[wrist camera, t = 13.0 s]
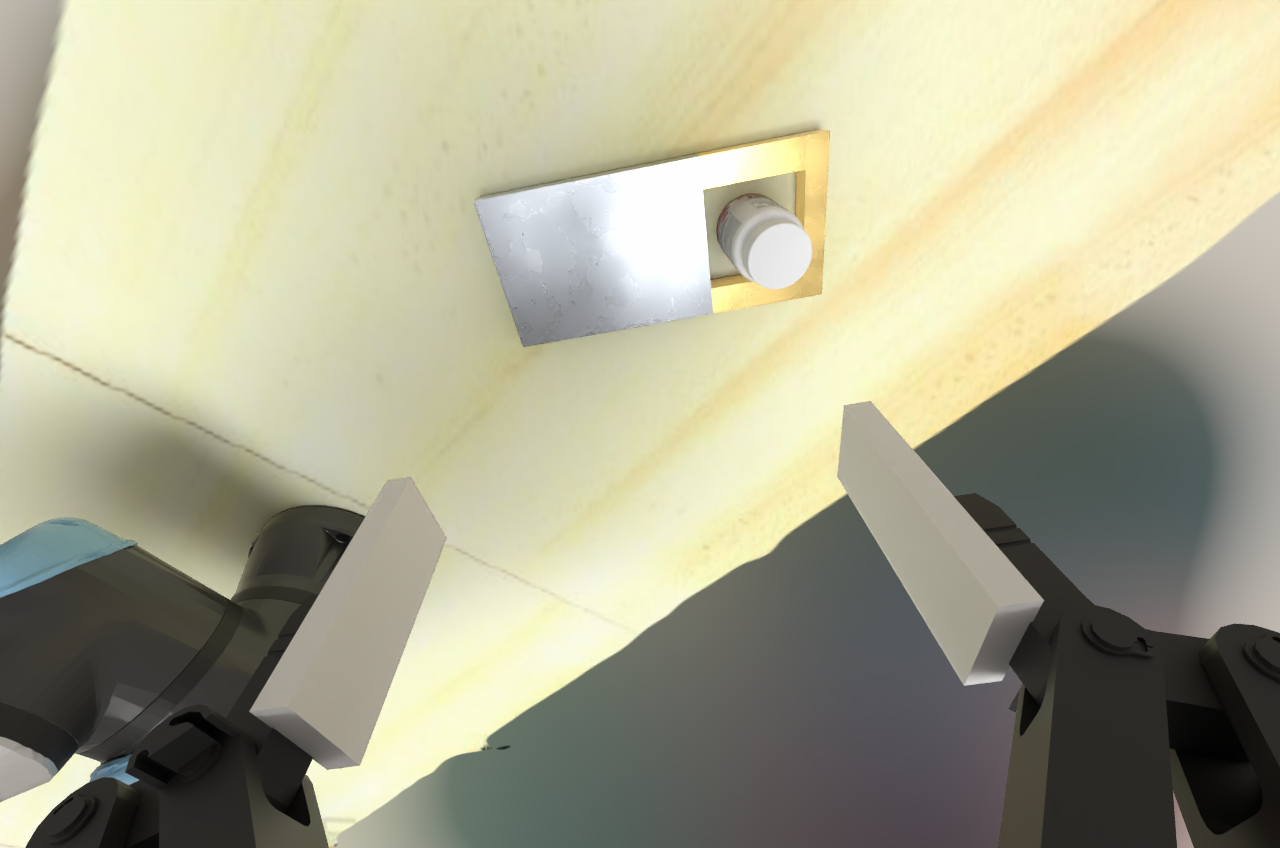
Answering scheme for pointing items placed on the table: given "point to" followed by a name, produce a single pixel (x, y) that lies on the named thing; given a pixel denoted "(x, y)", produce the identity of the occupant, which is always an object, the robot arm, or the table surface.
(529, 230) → the flat tray
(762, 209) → the pill bottle
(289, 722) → the robot arm
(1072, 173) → the table surface
